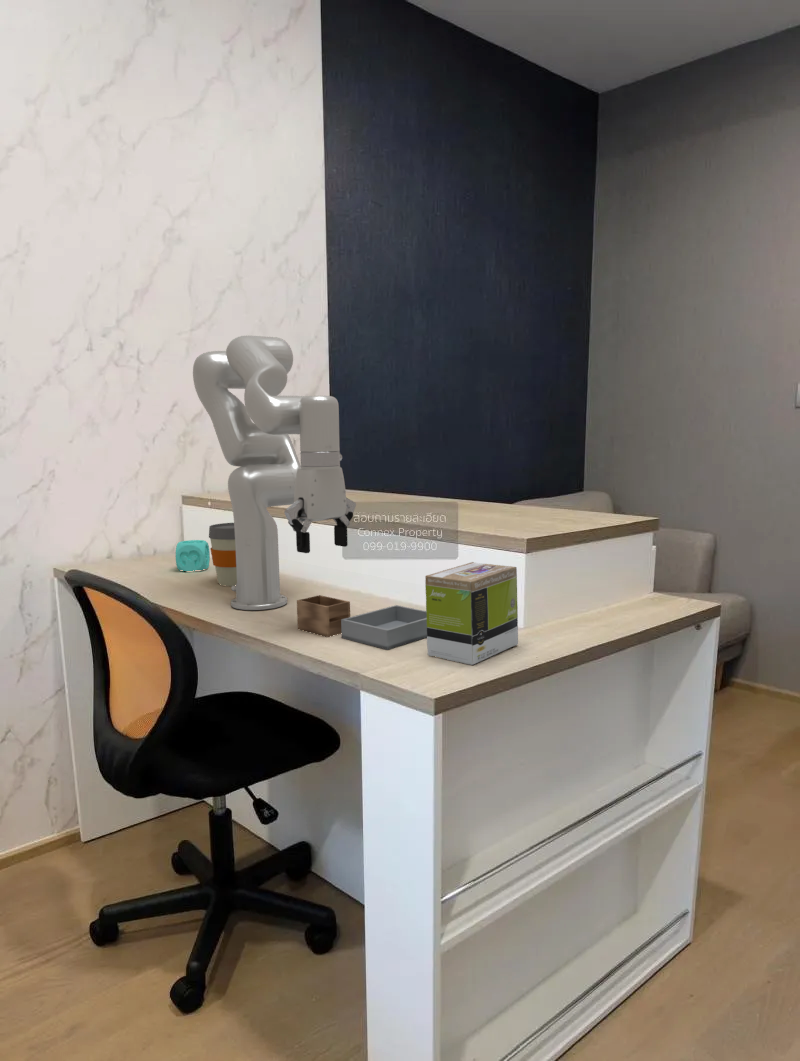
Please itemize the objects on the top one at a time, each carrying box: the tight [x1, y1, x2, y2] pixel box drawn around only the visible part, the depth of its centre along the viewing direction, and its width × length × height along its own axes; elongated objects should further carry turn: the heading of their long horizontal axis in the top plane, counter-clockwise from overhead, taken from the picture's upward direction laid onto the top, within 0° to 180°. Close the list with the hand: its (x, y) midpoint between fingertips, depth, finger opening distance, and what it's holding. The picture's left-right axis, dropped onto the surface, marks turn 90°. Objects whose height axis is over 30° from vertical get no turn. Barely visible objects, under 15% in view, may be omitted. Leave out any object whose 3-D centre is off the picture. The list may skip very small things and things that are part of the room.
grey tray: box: [341, 604, 427, 651], centre depth 147 cm, size 12×15×4 cm
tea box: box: [424, 561, 519, 666], centre depth 136 cm, size 15×10×15 cm
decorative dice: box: [175, 539, 211, 571], centre depth 218 cm, size 8×8×8 cm
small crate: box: [296, 595, 351, 638], centre depth 152 cm, size 9×6×6 cm, turn 47°
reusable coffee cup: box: [208, 522, 237, 587], centre depth 199 cm, size 13×13×15 cm
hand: (322, 549), depth 150 cm, fingers open, 9 cm apart
